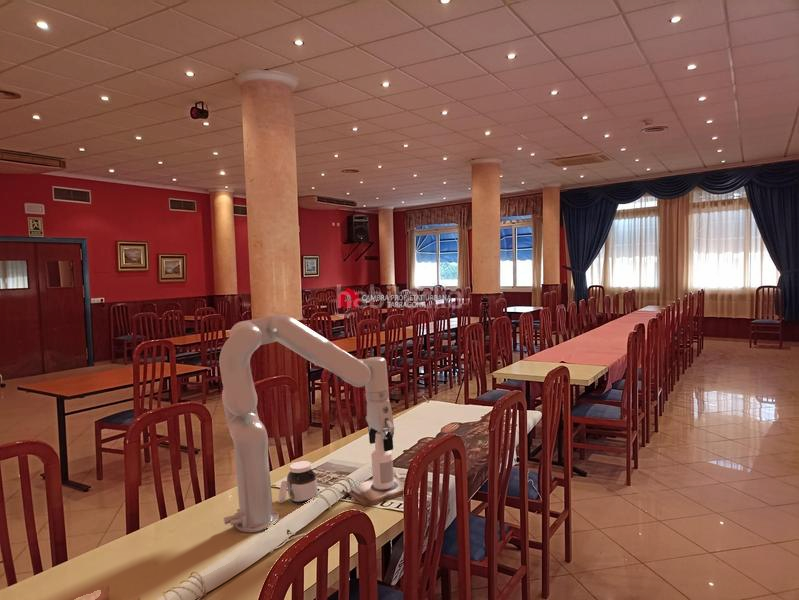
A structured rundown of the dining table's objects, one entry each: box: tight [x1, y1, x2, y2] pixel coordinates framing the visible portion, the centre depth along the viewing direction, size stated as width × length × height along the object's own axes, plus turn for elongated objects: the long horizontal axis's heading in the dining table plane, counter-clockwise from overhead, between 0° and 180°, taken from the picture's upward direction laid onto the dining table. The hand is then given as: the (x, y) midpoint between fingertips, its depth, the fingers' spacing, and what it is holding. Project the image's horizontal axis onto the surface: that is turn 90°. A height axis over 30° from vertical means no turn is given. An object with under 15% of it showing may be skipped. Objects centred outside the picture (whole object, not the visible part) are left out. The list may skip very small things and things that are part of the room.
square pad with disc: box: [348, 475, 404, 508], centre depth 179 cm, size 18×16×2 cm
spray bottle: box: [370, 431, 394, 490], centre depth 178 cm, size 7×7×18 cm
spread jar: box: [277, 460, 318, 505], centre depth 176 cm, size 12×11×12 cm
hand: (381, 446), depth 178 cm, fingers open, 9 cm apart
